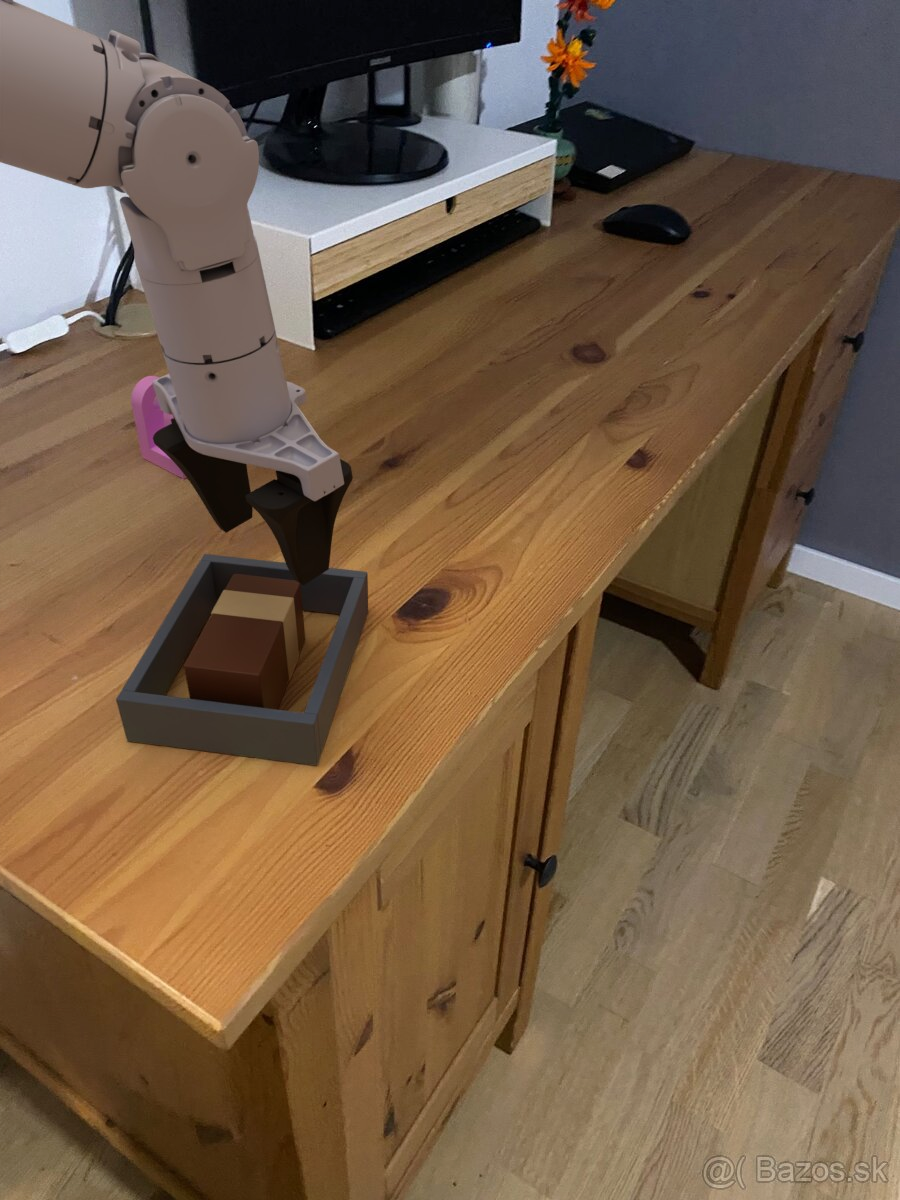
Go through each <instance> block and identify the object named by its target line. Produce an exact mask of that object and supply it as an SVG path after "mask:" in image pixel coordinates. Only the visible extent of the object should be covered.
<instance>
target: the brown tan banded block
mask: <svg viewBox="0 0 900 1200" xmlns="http://www.w3.org/2000/svg"><path fill="white" fill-rule="evenodd" d="M305 642H306V628H305V616H304V610H303V604H302V592H301V584H300V583H299V582H297V581H294V580H285V579H276V578H267V577H258V576H249V575H240V574H233V576H232V578H231V580H230V581H229V583H228V585H227V587H226V589H225V590H223V592H222V594H221V596H220V598H219V599H218V600H217V602H216V604H215V605H214V607H213V609H212V611H211V613H210V615H209V617H208V619H207V621H206V623H205V625H204V626H203V628H202V630H201V632H200V634H199V636H198V637H197V639H196V641H195V643H194V646H193V648H192V649H191V650H190V651H191V652H189V654H188V655H189V656H188V657H187V659H186V661H184V663H183V670H184V675H185V680H186V685H187V691H188V695H189V699H196V700H204V701H212V702H220V703H228V704H236V705H244V706H252V707H260V708H268V709H276V710H279V707H280V704H281V701H282V699H283V696H284V694H285V691H286V689H287V686H288V684H289V682H290V681H291V679H292V676H293V674H294V671H295V669H296V666H297V664H298V662H299V659H300V654H301V652H302V649H303V647H304V644H305Z"/></svg>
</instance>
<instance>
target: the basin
mask: <svg viewBox="0 0 900 1200" xmlns="http://www.w3.org/2000/svg"><path fill="white" fill-rule="evenodd" d="M233 574H240V575H249V576H258V577H267V578H276V579H285V580H294V581H296V580H295V579H294V577H293V576H292V575H291V573H290V571H289V569H288V567H287V565H286V562H282V561H273V560H264V559H263V560H262V559H254V558H247V557H236V556H228V555H220V554H219V555H218V554H209V553H204V554H203V555H202V557H201V559H200V560H199V562H198V563H197V565H196V566H195V568H194V569H193V572H192V573H191V575H190V576H189V578H188V579H187V581H186V583H185V585H184V586H183V588H182V590H181V591H180V593H179V595H178V596H177V597H176V599H175V601H174V603H173V605H172V606H171V608H170V610H169V611H168V612H167V614H166V616H165V618H164V619H163V621H162V623H161V625H160V626H159V628H158V629H157V631H156V633H155V634H154V636H153V637H152V639H151V641H150V642H149V644H148V645H147V648H146V649H145V651H144V652H143V654H142V656H141V657H140V659H139V660H138V663H137V664H136V666H135V667H134V669H133V671H132V672H131V674H130V676H129V677H128V679H127V680H126V682H125V684H124V685H123V687H122V690H120V691H119V693H118V695H117V697H116V698H115V701H116V705H117V709H118V712H119V716H120V720H121V723H122V727H123V731H124V735H125V738H126V742H130V743H131V742H133V743H138V744H140V743H141V744H147V745H154V746H155V745H156V746H163V747H169V748H170V747H171V748H179V749H186V750H194V751H201V752H210V753H216V754H225V755H232V756H238V757H239V756H240V757H247V758H253V759H255V758H256V759H263V760H269V761H270V760H271V761H278V762H279V761H280V762H285V763H294V764H301V765H302V764H303V765H308V766H309V765H311V766H318V765H319V762H320V759H321V755H322V754H323V750H324V748H325V744H326V741H327V738H328V734H329V732H330V729H331V727H332V723H333V720H334V717H335V713H336V710H337V708H338V705H339V702H340V698H341V695H342V692H343V689H344V687H345V683H346V680H347V677H348V674H349V671H350V669H351V665H352V662H353V660H354V656H355V653H356V650H357V647H358V644H359V641H360V638H361V635H362V632H363V629H364V627H365V623H366V620H367V617H368V615H369V577H368V575H369V573H368V571H363V570H354V569H345V568H337V567H329V569H328V570H327V571H325V572H324V573H322V574H321V575H319V576H317V577H316V578H314V579H313V580H311V581H310V582H308V583H307V584H305V585H301V592H302V604H303V611H305V612H306V611H307V612H314V613H315V612H316V613H324V614H332V615H339V617H338V620H337V622H336V625H335V628H334V630H333V633H332V636H331V638H330V642H329V644H328V647H327V650H326V652H325V655H324V658H323V660H322V663H321V666H320V668H319V671H318V673H317V676H316V679H315V682H314V685H313V688H312V690H311V692H310V696H309V698H308V701H307V704H306V706H305V708H304V711H303V712H300V711H299V712H298V711H290V710H283V709H277V710H276V709H268V708H260V707H252V706H244V705H236V704H228V703H220V702H212V701H204V700H196V699H190V698H187V697H181V696H180V697H178V696H177V697H176V696H172V695H171V696H170V695H167V693H168V691H169V689H170V687H171V686H172V684H173V682H174V680H175V678H176V677H177V675H178V673H179V672H180V669H181V667H182V665H184V663H185V660H186V658H187V656H188V655H189V654H190V651H191V650H192V647H194V646H193V645H195V643H196V641H197V639H198V637H199V636H200V634H201V632H202V630H203V628H204V626H205V625H206V623H207V621H208V619H209V617H210V616H211V612H212V610H213V609H214V607H215V605H216V603H217V601H218V599H219V598H220V596H221V594H222V592H223V590H225V589H226V587H227V585H228V583H229V581H230V580H231V578H232V576H233Z"/></svg>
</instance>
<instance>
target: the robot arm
mask: <svg viewBox="0 0 900 1200" xmlns="http://www.w3.org/2000/svg"><path fill="white" fill-rule="evenodd" d="M141 51H142V46H141V43H140V42H139V40H136V39H134V38H132V37H130V36H128V35H126V34H123V33H121V32H119V31H116V30H113V29H110V30H109V32H108V35H107V39H105V38H102V37H99V36H97V35H95V34H93V33H90V32H88V31H85V30H83V29H81V28H79V27H76V26H74V25H71V24H69V23H66V22H64V21H62V20H59V19H57V18H54V17H52V16H50V15H47V14H45V13H44V12H43V13H42V12H40V11H38V10H36V9H33V8H31V7H28V6H26V5H24V4H21V3H19V2H16V1H14V0H0V164H1V163H2V164H5V165H7V166H10V167H14V168H17V169H20V170H24V171H27V172H30V173H32V174H37V175H40V176H42V177H46V178H50V179H53V180H56V181H58V182H62V183H65V184H67V185H68V184H69V185H72V186H75V187H78V188H82V189H95V188H101V187H111V188H112V189H114V190H115V191H117V192H118V193H120V194H121V193H122V194H125V195H127V196H122V197H121V198H120V199H119V204H120V207H121V210H122V214H123V217H124V220H125V224H126V227H127V230H128V233H129V236H130V240H131V243H132V247H133V251H134V252H133V253H134V254H133V257H134V263H135V267H136V270H137V273H138V276H139V280H140V284H141V286H142V290H143V293H144V296H145V299H146V302H147V306H148V309H149V312H150V315H151V318H152V322H153V326H154V328H155V332H156V335H157V338H158V341H159V345H160V348H161V352H162V356H163V358H164V361H165V364H166V368H167V372H168V373H167V374H164V375H162V376H160V377H159V378H158V379H156V380H154V381H152V384H153V387H154V390H155V393H156V396H157V399H158V402H159V405H160V408H161V410H162V411H164V412H165V413H167V414H169V415H172V414H173V418H174V419H173V418H172V419H171V423H172V424H170V425H168V426H166V427H164V428H162V429H160V430H158V431H157V432H156V433H155V434H154V436H153V441H154V443H155V445H156V446H158V447H159V448H160V449H161V450H162V451H163V452H164V453H165V454H166V455H167V456H168V457H169V458H170V459H171V460H172V461H173V462H174V463H175V464H176V465H177V466H178V467H179V468H180V470H181V471H182V472H183V473H184V475H185V476H186V477H187V478H186V479H187V480H188V481H189V484H191V486H192V487H193V489H194V491H195V493H197V495H198V497H199V498H200V500H201V502H202V503H203V505H204V506H205V508H206V509H207V512H208V514H209V515H210V517H211V519H212V520H213V521H214V523H215V524H216V526H217V527H218V528H219V529H220V530H221V531H223V532H224V533H226V534H227V533H229V532H230V531H232V530H234V529H236V528H238V527H239V526H241V525H242V524H245V523H246V522H248V521H249V520H251V519H252V518H253V511H256V513H258V515H260V516H261V518H262V519H263V520H264V522H265V523H266V524H267V526H268V527H269V529H270V531H271V532H272V534H273V536H274V538H275V540H276V541H277V544H278V546H279V549H280V551H281V554H282V557H283V559H284V563H286V565H287V567H288V569H289V571H290V573H291V575H292V576H293V577H294V579H295V580H296V581H297V582H299V583H300V584H301V585H305V584H307V583H308V582H310V581H311V580H313V579H314V578H316V577H317V576H319V575H321V574H322V573H324V572H325V571H327V570H328V569H329V568H330V561H331V554H332V553H331V552H332V551H331V550H332V542H333V535H334V534H333V533H334V528H335V523H336V519H337V515H338V513H339V510H340V506H341V504H342V502H343V500H344V497H345V495H346V493H347V490H348V489H349V486H350V485H351V483H352V481H353V479H354V477H353V476H354V475H353V471H352V466H351V465H350V463H349V462H347V461H345V460H343V459H342V458H341V457H340V452H338V451H336V450H334V449H333V448H331V447H330V446H329V445H327V444H326V443H325V442H324V441H323V440H322V439H321V438H320V436H319V434H318V433H317V431H316V430H315V428H314V427H313V426H312V424H311V423H310V422H309V421H308V419H307V418H306V416H305V415H304V413H303V412H302V410H301V409H300V407H301V406H303V405H304V404H306V403H307V400H308V398H307V393H306V389H304V387H301V386H299V385H297V384H295V383H293V382H291V381H287V379H286V374H285V373H286V372H285V369H284V364H283V360H282V354H281V350H280V345H279V341H278V336H277V330H276V326H275V321H274V317H273V313H272V307H271V303H270V299H269V293H268V287H267V283H266V279H265V275H264V270H263V266H262V260H261V256H260V252H259V251H260V250H259V246H258V241H257V239H256V236H255V234H254V233H255V232H254V228H253V225H252V224H253V223H252V220H251V216H250V211H249V206H248V203H249V200H250V198H251V196H252V194H253V191H254V189H255V186H256V183H257V178H258V174H259V166H260V152H259V144H258V141H256V140H255V139H251V137H250V136H249V135H248V132H247V129H246V126H245V124H244V122H243V120H242V117H241V115H240V113H239V112H238V110H237V109H235V108H233V107H232V105H231V104H230V102H231V101H230V100H229V99H228V98H227V97H226V96H225V95H224V94H223V93H221V92H220V91H219V90H217V89H216V88H215V87H214V86H211V85H209V84H207V83H205V82H204V81H201V80H199V79H197V78H195V77H193V76H191V75H189V74H187V73H184V72H183V71H181V70H180V69H177V68H175V67H174V66H171V65H169V64H166V63H164V62H161V61H160V60H159V58H157V57H156V56H155V55H154V54H152V53H149V52H141ZM247 465H250V466H254V467H257V468H263V469H267V470H272V471H275V476H276V479H275V478H274V479H272V480H270V481H268V482H266V483H264V484H262V485H261V486H260V487H258V488H256V489H254V490H252V491H251V484H250V480H249V473H248V466H247ZM253 509H254V510H253Z"/></svg>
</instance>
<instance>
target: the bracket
mask: <svg viewBox="0 0 900 1200" xmlns="http://www.w3.org/2000/svg"><path fill="white" fill-rule="evenodd" d="M158 378H160V377H159V376H156V375H148V376H145V377H143V378H141V379H140V380H139V381H137V383H136V384H135V385H134V388H133V390H132V393H131V395H130V396H131V397H130V404H131V407H132V414H133V418H134V423H135V428H136V433H137V438H138V444H139V448H140V454H141V458H142V459H144V460H145V461H148V462H150V463H152V464H154V465H156V466H158V467H159V468H162V469H163V470H165V471H168V473H169V472H170V473H171V474H172V475H175V476H176V477H179V478H181V479H182V480H185V479H187V477H186V476H185V475H184V473H183V472H182V471H181V470H180V468H179V467H178V466H177V465H176V464H175V463H174V462H173V461H172V460H171V459H170V458H169V457H168V456H167V455H166V454H165V453H164V452H163V451H162V450H161V449H160V448H159V447H158V446H156V445H155V443H154V441H153V436H154V434H155V433H156V432H157V431H158V430H160V429H162V428H164V427H166V426H168V425H170V424H172V423H171V419H172V418H173V414H172V415H169V414H167V413H165V412H164V411H162V410H161V408H160V405H159V402H158V399H157V396H156V393H155V390H154V387H153V384H152V381H154V380H156V379H158ZM173 419H174V418H173Z"/></svg>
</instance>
